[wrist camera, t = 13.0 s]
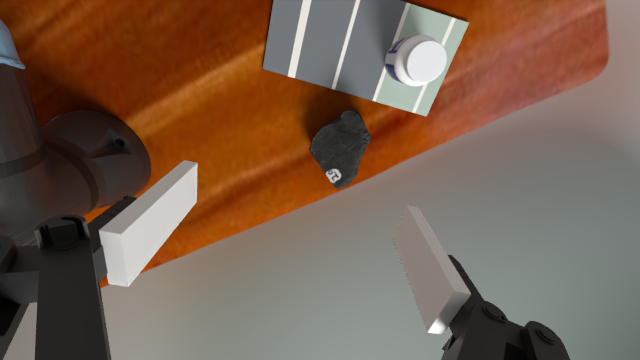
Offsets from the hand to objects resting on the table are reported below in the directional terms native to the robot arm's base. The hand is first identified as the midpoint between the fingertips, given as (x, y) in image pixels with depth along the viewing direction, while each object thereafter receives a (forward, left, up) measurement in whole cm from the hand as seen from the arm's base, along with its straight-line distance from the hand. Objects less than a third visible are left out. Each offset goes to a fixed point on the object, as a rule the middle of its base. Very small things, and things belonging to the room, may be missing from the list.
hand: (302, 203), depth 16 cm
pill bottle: (+9, +10, -25) cm, 28 cm away
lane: (+3, +10, -25) cm, 27 cm away
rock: (+4, -3, -25) cm, 26 cm away
